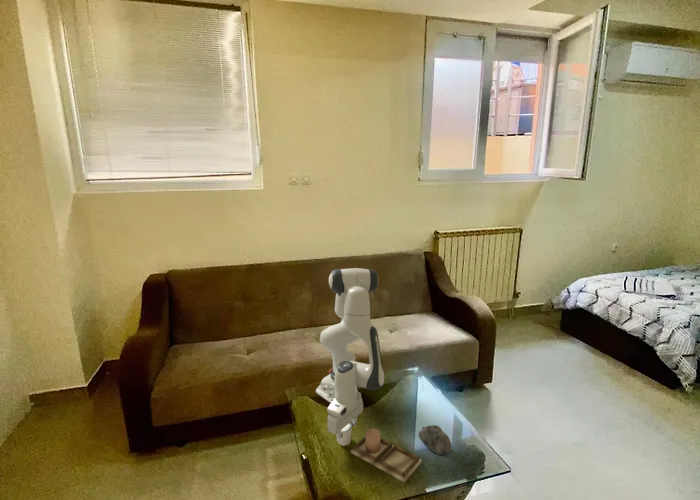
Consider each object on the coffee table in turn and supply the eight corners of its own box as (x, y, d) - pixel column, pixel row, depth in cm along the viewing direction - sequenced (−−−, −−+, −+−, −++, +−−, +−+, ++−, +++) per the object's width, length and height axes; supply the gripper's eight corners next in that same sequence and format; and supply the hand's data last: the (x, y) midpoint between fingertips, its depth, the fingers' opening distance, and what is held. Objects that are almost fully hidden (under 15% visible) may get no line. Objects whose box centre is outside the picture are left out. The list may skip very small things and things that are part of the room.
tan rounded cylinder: (362, 449, 159) (362, 433, 157) (371, 441, 163) (371, 426, 162) (374, 455, 155) (374, 440, 154) (383, 447, 160) (383, 432, 158)
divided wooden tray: (350, 452, 158) (350, 447, 158) (369, 435, 168) (369, 430, 168) (404, 482, 143) (404, 476, 142) (421, 462, 153) (421, 456, 152)
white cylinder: (350, 447, 161) (350, 432, 159) (334, 445, 162) (333, 430, 161) (353, 436, 167) (353, 422, 166) (337, 434, 169) (337, 420, 167)
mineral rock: (417, 436, 168) (417, 415, 165) (441, 433, 169) (442, 413, 167) (427, 458, 155) (428, 435, 153) (453, 455, 157) (454, 432, 155)
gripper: (354, 387, 171) (355, 416, 173) (324, 410, 154) (325, 442, 157) (366, 392, 167) (367, 421, 169) (336, 416, 151) (337, 448, 153)
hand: (346, 431), depth 163 cm, fingers open, 8 cm apart
